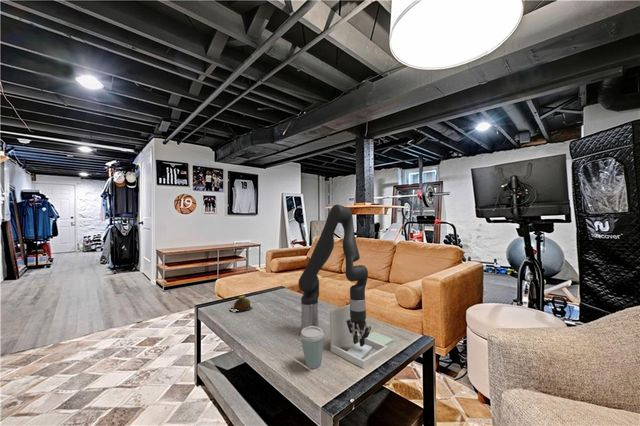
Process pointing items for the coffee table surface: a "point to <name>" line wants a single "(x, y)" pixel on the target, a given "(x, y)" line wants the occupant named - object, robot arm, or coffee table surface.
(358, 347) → the hard drive
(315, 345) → the disposable coffee cup
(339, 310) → the case
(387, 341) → the mat
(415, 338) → the coffee table surface
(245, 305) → the cactus
